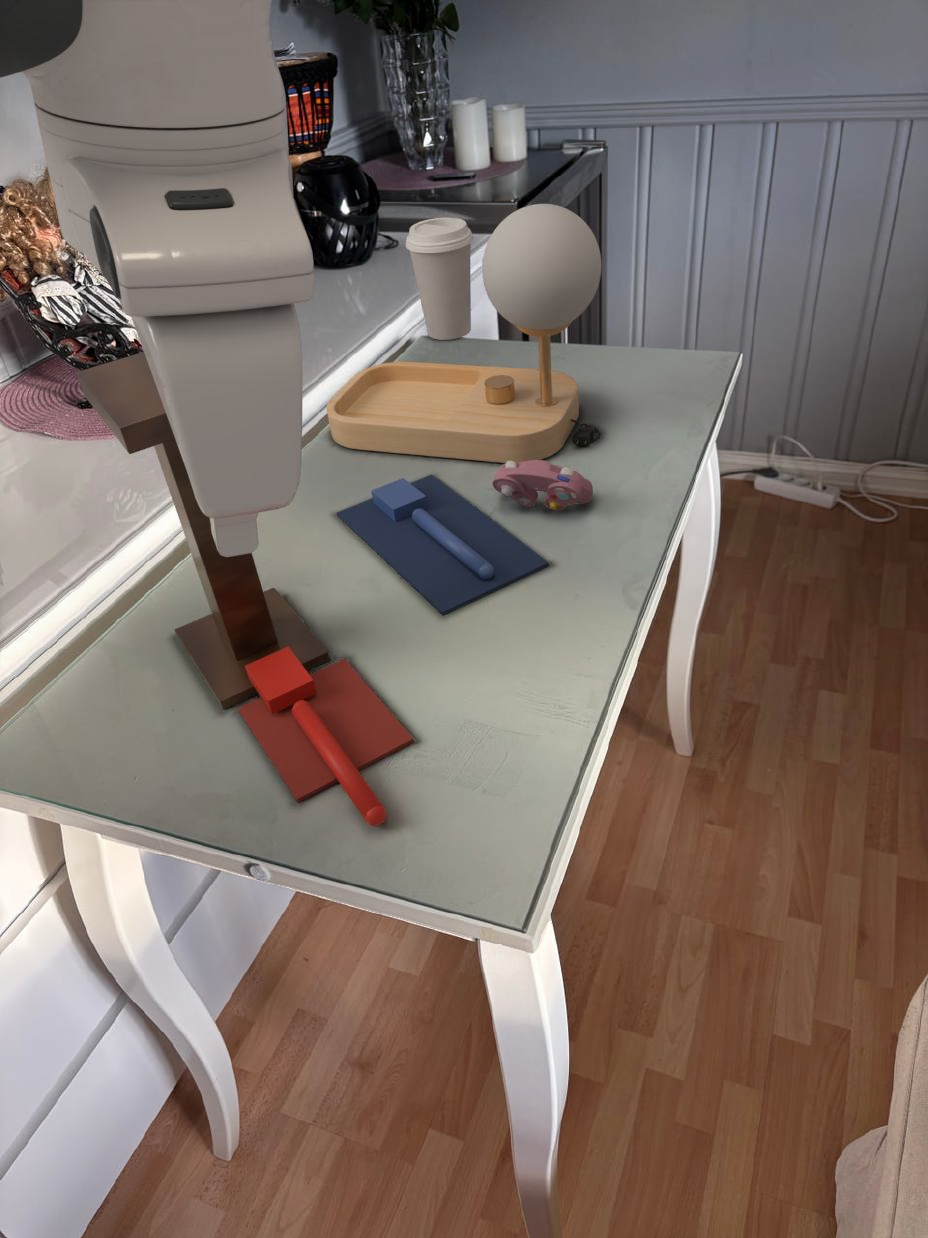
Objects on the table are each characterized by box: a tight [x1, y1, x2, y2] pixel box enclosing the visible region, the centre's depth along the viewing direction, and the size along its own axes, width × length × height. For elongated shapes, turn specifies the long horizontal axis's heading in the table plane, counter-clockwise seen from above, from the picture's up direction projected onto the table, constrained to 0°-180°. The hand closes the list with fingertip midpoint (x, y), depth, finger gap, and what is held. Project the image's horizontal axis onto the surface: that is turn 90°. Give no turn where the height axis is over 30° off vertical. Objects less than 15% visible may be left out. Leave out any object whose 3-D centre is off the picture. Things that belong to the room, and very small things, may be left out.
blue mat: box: [336, 474, 550, 616], centre depth 92 cm, size 12×22×1 cm, turn 33°
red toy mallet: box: [245, 647, 387, 827], centre depth 71 cm, size 20×4×2 cm, turn 32°
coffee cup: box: [405, 217, 474, 341], centre depth 130 cm, size 10×10×15 cm
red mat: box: [237, 658, 415, 803], centre depth 73 cm, size 10×12×1 cm
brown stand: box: [75, 351, 331, 710], centre depth 74 cm, size 10×12×26 cm
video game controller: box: [492, 459, 594, 511], centre depth 94 cm, size 10×5×7 cm, turn 68°
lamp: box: [326, 203, 602, 464], centre depth 104 cm, size 33×17×25 cm, turn 71°
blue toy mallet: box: [370, 477, 494, 579], centre depth 92 cm, size 20×4×2 cm, turn 33°
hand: (214, 491), depth 44 cm, fingers open, 8 cm apart
